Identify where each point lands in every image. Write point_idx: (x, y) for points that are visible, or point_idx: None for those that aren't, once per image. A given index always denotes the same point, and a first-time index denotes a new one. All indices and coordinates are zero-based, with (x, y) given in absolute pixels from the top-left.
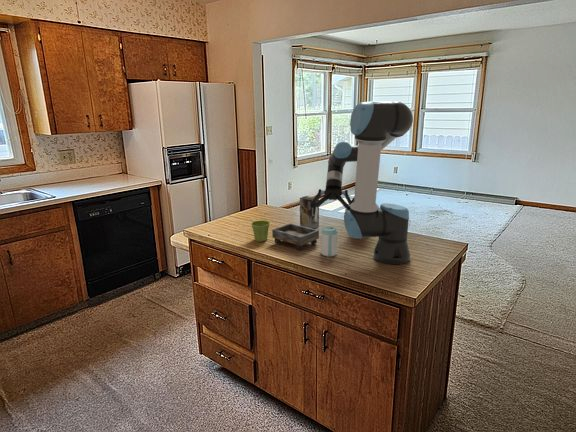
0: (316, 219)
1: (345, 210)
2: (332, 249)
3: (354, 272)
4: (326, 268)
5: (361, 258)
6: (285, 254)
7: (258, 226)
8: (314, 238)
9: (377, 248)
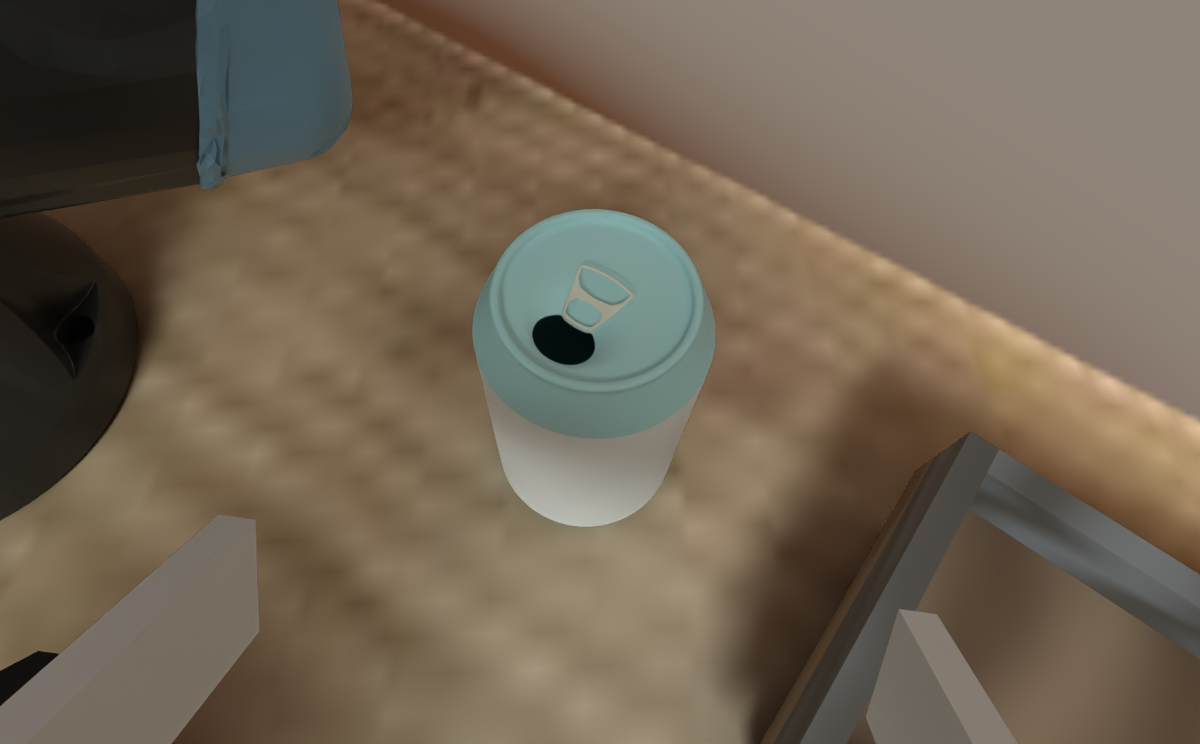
0: (891, 681)
1: (37, 725)
2: (552, 338)
3: (405, 115)
4: (612, 169)
5: (269, 354)
6: (1026, 431)
7: None
8: (795, 694)
9: (34, 326)
